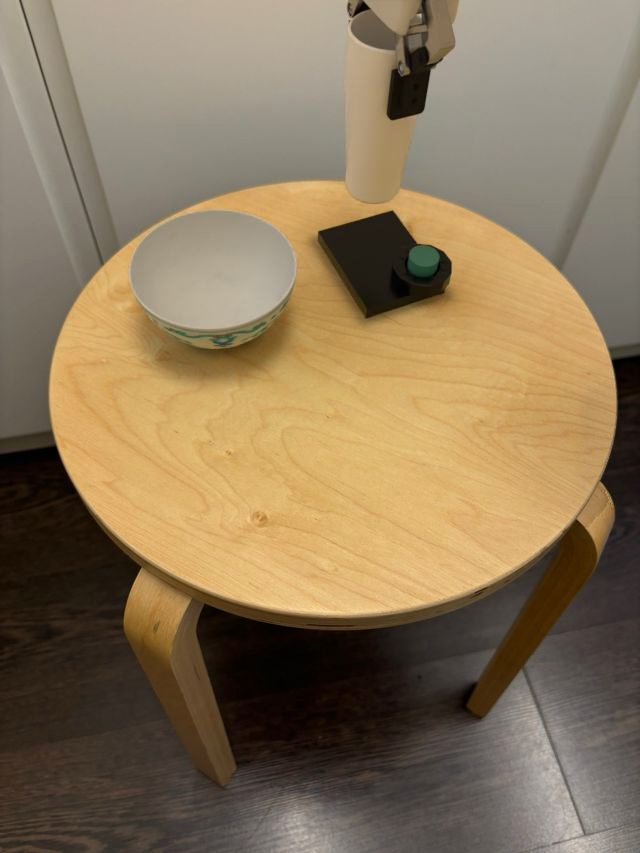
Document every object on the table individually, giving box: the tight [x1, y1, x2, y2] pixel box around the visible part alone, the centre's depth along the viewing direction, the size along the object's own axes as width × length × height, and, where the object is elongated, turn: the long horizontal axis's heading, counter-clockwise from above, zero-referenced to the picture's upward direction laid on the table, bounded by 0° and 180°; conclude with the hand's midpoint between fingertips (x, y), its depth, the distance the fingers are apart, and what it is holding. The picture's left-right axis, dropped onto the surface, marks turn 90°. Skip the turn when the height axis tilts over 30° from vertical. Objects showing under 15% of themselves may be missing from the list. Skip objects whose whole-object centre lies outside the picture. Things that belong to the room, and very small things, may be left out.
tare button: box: [407, 245, 439, 277], centre depth 70 cm, size 3×3×2 cm
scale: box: [317, 210, 453, 319], centre depth 73 cm, size 10×13×3 cm
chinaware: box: [127, 208, 298, 350], centre depth 66 cm, size 15×15×8 cm
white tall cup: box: [343, 9, 422, 205], centre depth 61 cm, size 7×7×15 cm
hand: (384, 88), depth 59 cm, fingers closed on white tall cup, 6 cm apart
